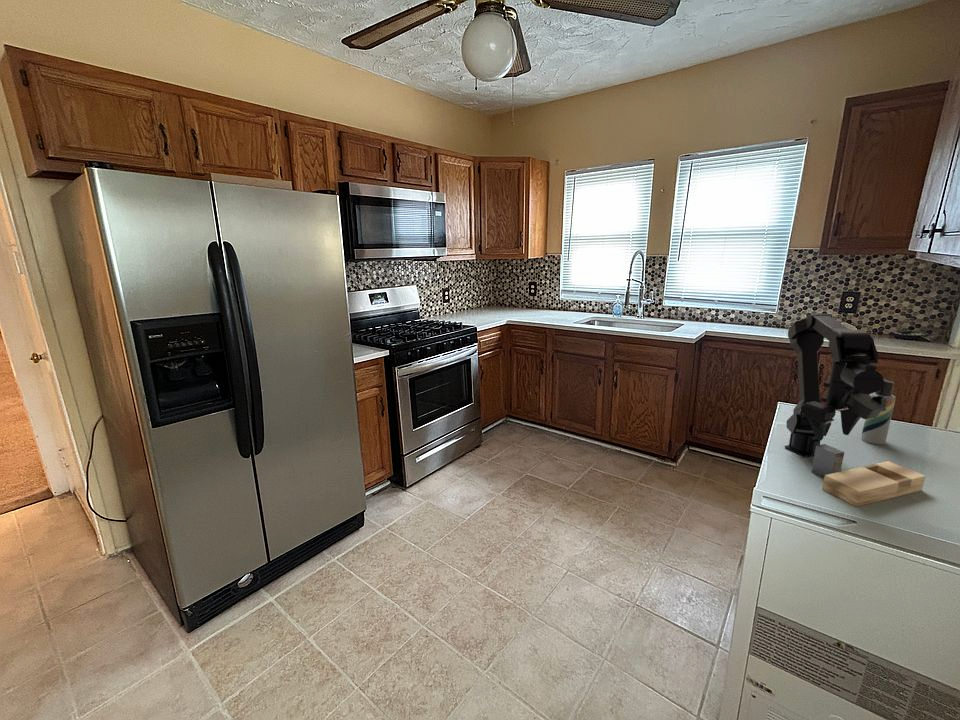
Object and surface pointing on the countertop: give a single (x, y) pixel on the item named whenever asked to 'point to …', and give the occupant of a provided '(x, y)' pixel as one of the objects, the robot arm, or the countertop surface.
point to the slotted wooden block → (873, 483)
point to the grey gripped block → (827, 460)
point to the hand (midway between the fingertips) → (832, 437)
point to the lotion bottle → (880, 417)
